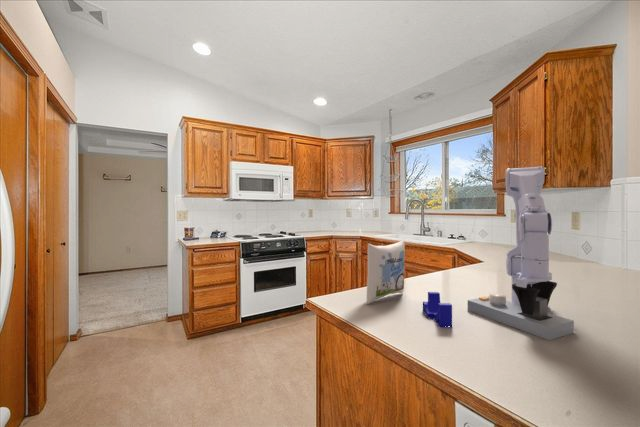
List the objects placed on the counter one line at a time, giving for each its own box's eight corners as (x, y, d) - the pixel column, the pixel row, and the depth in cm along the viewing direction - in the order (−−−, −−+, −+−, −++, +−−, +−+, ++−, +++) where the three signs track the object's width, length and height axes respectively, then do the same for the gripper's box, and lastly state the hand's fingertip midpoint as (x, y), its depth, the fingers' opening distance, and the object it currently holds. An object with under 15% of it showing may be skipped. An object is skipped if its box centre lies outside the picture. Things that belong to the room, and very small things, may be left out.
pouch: (358, 301, 96) (357, 242, 96) (396, 291, 107) (395, 238, 107) (375, 307, 90) (374, 244, 89) (413, 297, 100) (413, 240, 100)
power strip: (490, 305, 90) (490, 288, 90) (573, 332, 70) (573, 310, 70) (467, 309, 87) (467, 291, 87) (548, 340, 66) (548, 316, 66)
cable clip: (422, 311, 86) (422, 291, 86) (438, 311, 86) (438, 292, 86) (434, 327, 75) (434, 304, 75) (452, 328, 74) (452, 305, 74)
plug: (529, 320, 77) (529, 294, 76) (547, 326, 73) (547, 298, 73) (522, 323, 75) (521, 297, 74) (539, 329, 71) (539, 301, 71)
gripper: (530, 254, 81) (530, 301, 81) (503, 259, 73) (503, 311, 74) (561, 257, 75) (561, 309, 75) (534, 263, 67) (534, 320, 67)
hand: (534, 311), depth 74 cm, fingers open, 7 cm apart
